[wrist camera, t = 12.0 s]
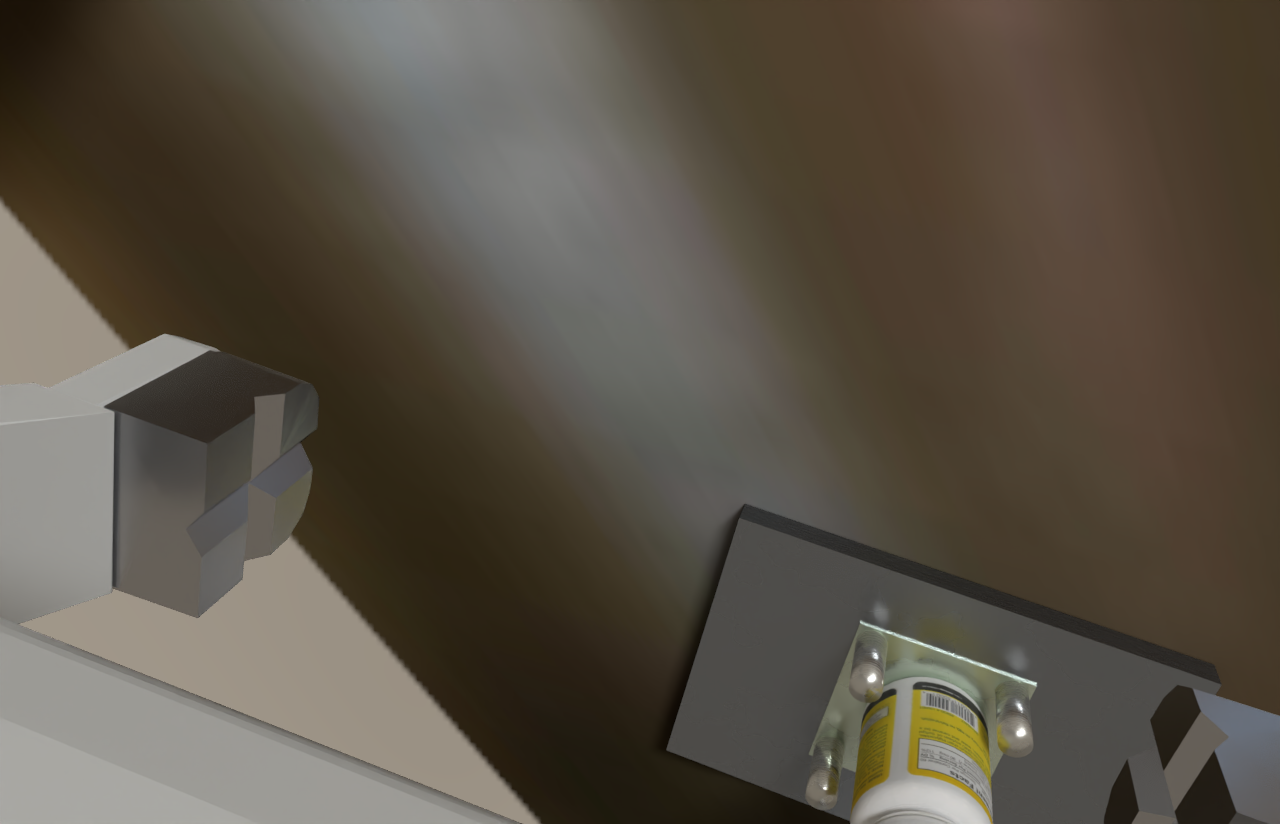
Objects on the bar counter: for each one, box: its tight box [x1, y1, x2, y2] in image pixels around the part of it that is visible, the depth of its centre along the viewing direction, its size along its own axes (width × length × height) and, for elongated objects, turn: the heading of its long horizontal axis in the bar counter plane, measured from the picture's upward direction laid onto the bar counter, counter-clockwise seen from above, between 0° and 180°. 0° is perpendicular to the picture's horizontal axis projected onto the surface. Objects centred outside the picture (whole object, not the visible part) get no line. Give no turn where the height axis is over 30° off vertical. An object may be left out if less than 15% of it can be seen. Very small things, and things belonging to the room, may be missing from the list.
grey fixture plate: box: [666, 504, 1221, 824], centre depth 41 cm, size 18×12×4 cm, turn 76°
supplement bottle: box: [850, 677, 993, 824], centre depth 38 cm, size 5×5×8 cm
